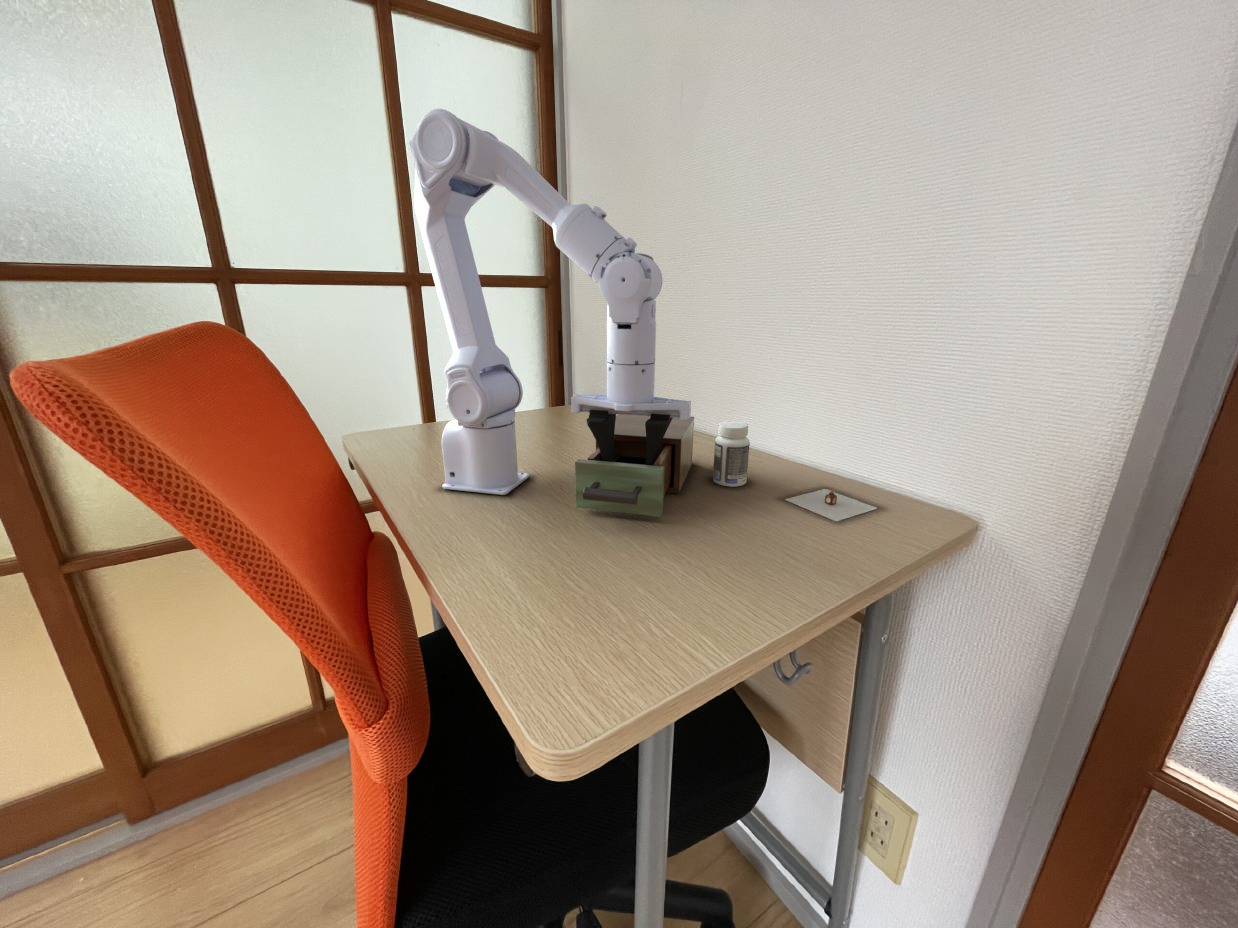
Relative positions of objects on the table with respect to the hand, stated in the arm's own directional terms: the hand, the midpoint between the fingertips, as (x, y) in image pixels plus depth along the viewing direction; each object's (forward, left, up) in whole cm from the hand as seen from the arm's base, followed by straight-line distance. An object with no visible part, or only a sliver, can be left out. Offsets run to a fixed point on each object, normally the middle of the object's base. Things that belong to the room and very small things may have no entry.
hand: (629, 471), depth 66 cm
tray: (0, 0, -2) cm, 2 cm away
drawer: (0, -2, -3) cm, 4 cm away
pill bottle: (+12, +11, -4) cm, 17 cm away
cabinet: (0, +11, -4) cm, 12 cm away
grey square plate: (+25, +6, -4) cm, 26 cm away
